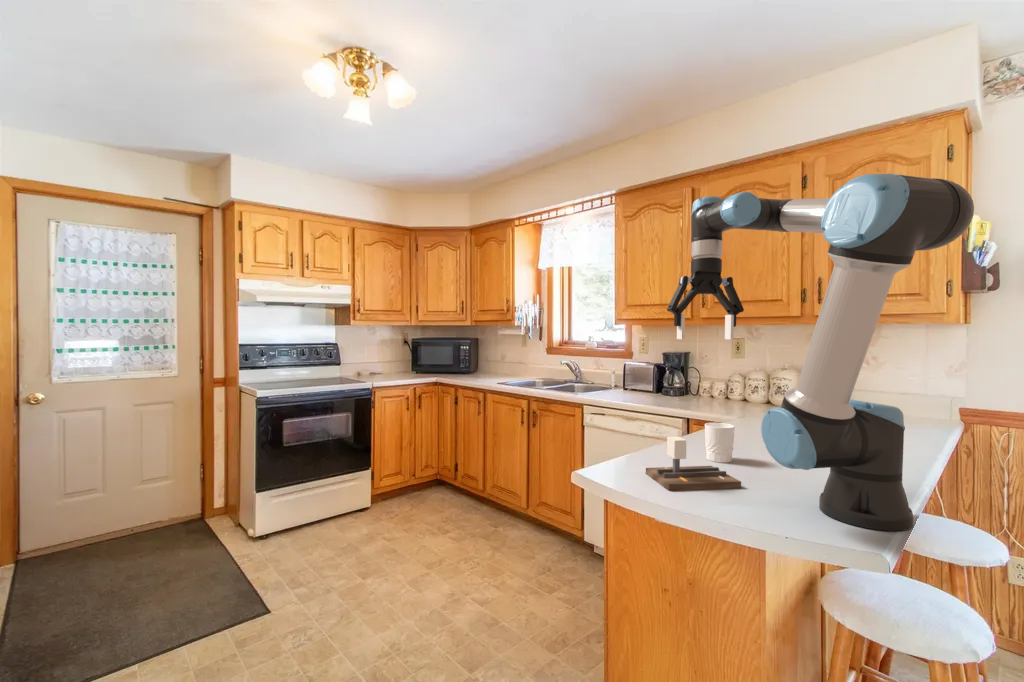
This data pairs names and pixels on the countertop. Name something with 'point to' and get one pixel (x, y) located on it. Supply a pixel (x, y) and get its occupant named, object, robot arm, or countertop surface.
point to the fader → (676, 451)
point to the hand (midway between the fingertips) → (704, 339)
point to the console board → (693, 478)
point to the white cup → (719, 442)
